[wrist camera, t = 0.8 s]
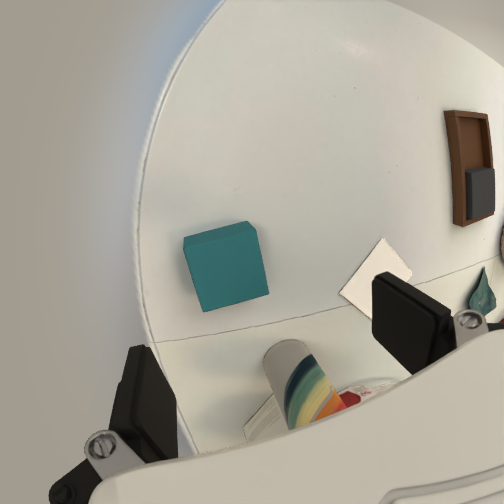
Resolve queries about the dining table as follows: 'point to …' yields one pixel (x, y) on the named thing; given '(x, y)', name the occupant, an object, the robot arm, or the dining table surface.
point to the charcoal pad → (479, 192)
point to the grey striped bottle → (300, 384)
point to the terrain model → (483, 297)
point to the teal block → (226, 265)
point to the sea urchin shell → (502, 245)
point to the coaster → (375, 264)
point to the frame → (467, 155)
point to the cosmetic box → (265, 422)
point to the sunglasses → (353, 397)
